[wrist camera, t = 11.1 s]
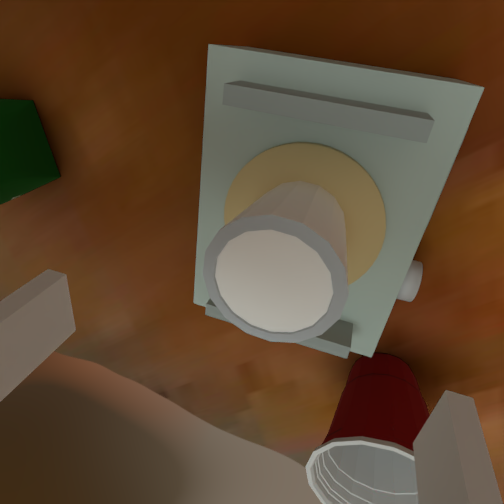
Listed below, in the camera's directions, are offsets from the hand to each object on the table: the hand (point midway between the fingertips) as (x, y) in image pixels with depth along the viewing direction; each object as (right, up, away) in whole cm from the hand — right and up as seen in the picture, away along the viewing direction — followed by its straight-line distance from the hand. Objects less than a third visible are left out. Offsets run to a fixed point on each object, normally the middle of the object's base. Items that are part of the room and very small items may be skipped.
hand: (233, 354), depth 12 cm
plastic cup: (+13, -8, +23) cm, 28 cm away
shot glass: (+4, +5, +10) cm, 12 cm away
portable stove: (+6, +9, +16) cm, 19 cm away
